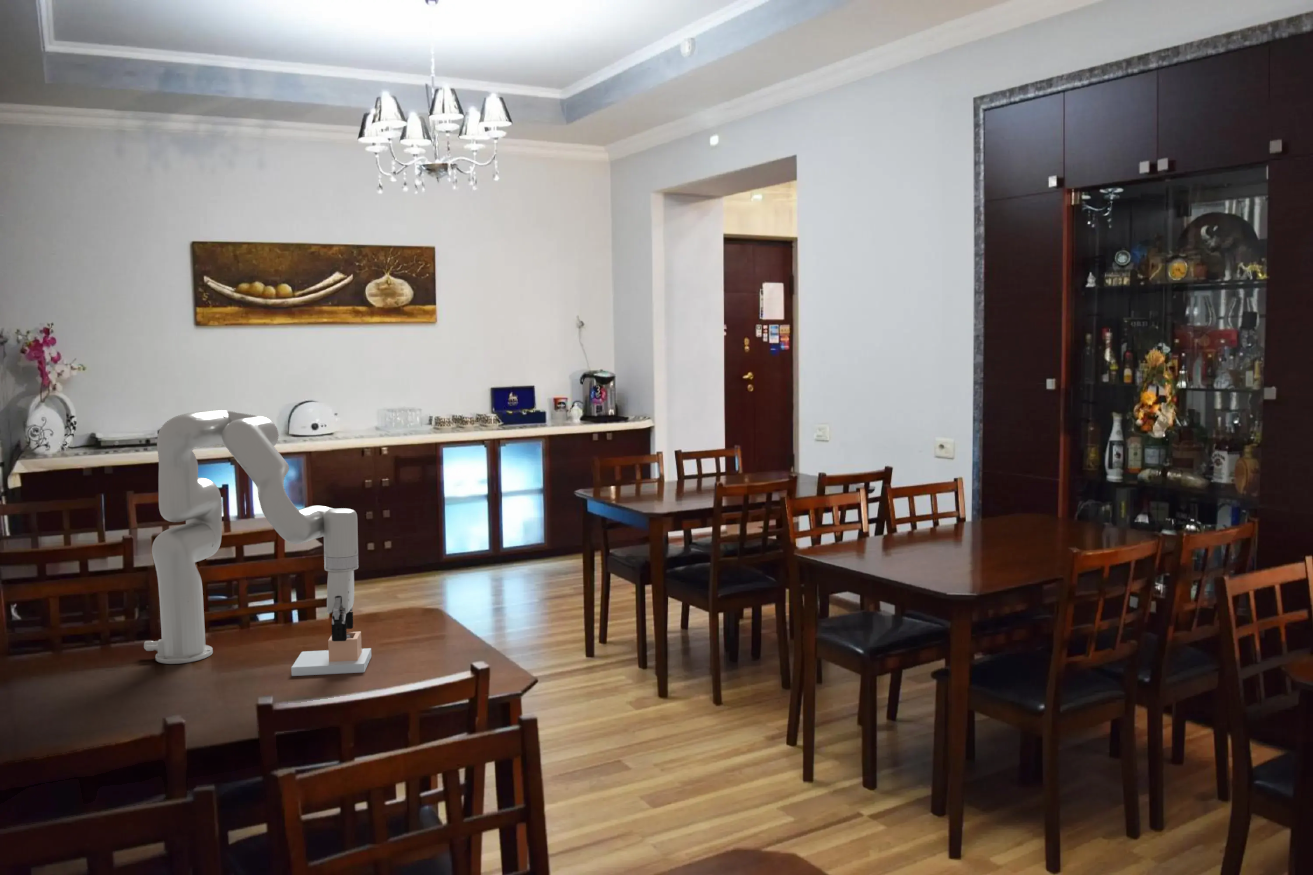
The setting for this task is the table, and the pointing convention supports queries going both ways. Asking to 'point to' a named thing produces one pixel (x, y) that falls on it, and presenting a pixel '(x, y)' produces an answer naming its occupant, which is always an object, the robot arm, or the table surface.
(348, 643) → the collar
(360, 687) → the table surface
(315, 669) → the post plate
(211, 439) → the robot arm
